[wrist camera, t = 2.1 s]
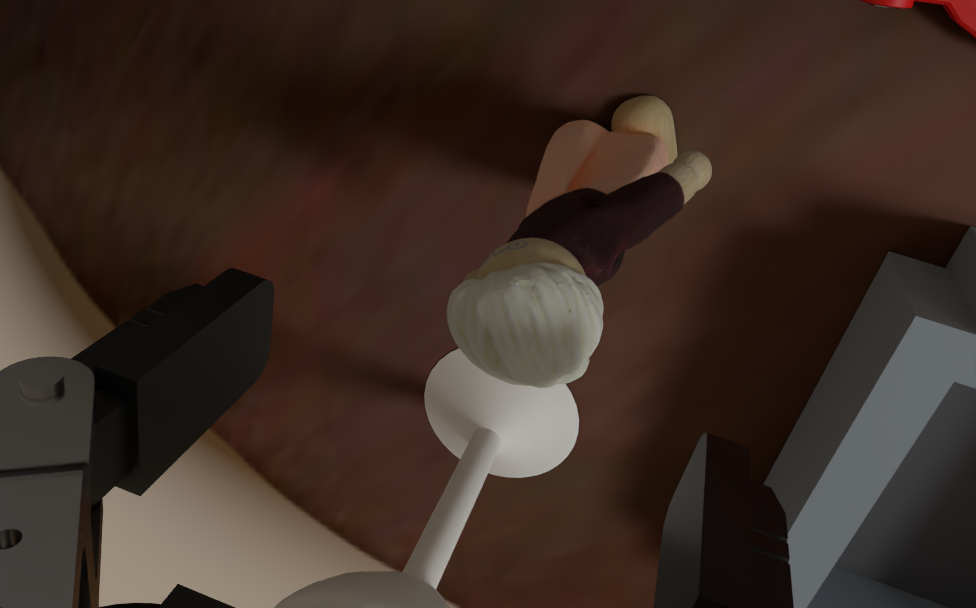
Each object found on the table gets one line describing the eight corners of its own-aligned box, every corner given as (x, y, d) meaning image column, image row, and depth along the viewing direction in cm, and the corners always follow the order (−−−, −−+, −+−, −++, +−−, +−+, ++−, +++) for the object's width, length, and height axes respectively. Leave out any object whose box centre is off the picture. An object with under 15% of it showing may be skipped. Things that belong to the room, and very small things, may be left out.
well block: (1302, 323, 22) (1421, 411, 18) (985, 674, 30) (1020, 784, 27) (911, 208, 24) (944, 267, 20) (715, 572, 32) (712, 662, 28)
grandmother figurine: (650, 37, 23) (572, 150, 13) (733, 128, 24) (724, 312, 13) (487, 195, 27) (322, 384, 17) (561, 270, 28) (447, 501, 17)
